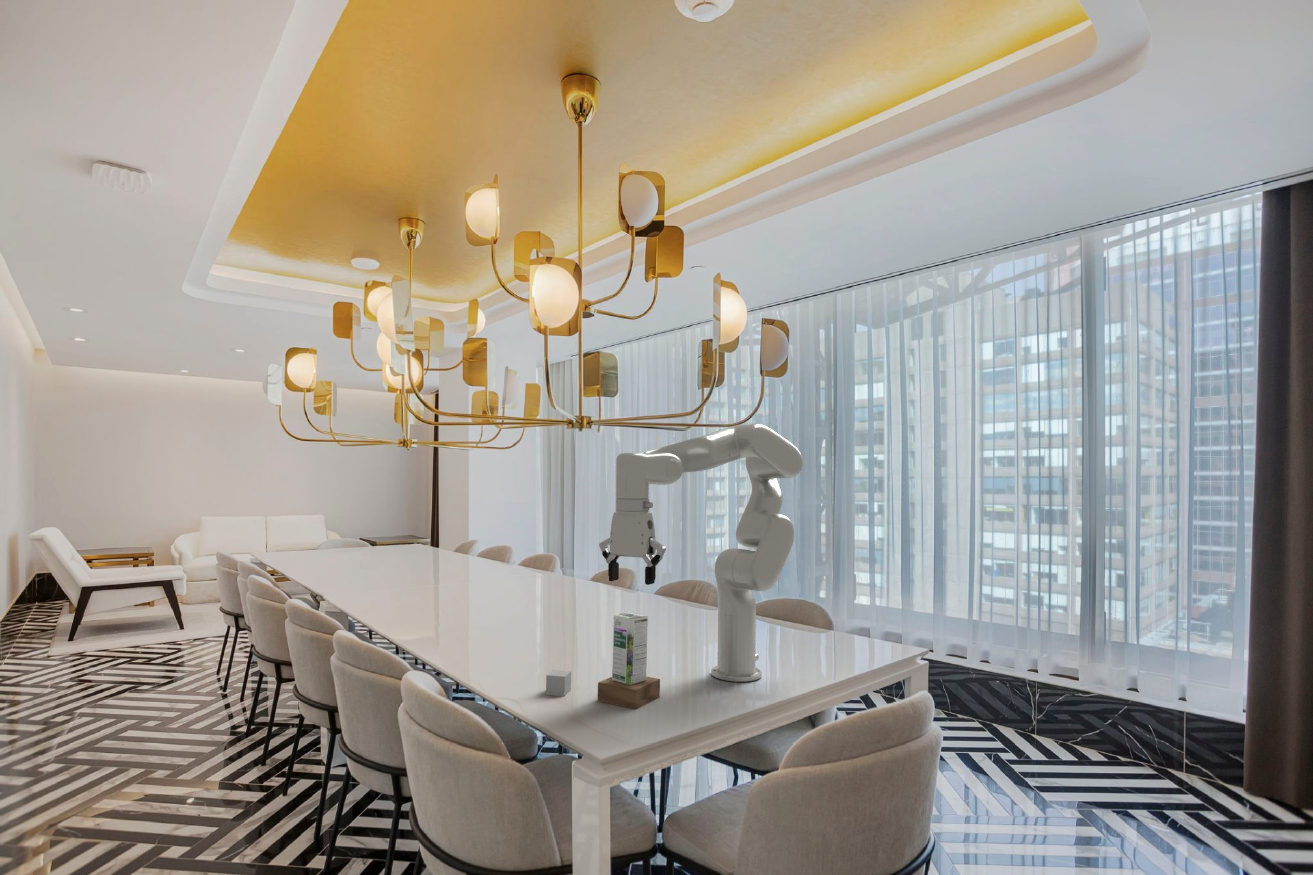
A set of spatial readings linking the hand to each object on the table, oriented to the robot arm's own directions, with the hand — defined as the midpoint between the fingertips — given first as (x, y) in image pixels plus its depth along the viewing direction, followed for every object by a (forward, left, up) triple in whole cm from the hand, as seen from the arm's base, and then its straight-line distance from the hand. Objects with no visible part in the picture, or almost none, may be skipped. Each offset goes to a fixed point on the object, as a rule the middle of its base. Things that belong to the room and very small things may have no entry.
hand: (631, 582), depth 157 cm
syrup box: (+1, +1, -22) cm, 22 cm away
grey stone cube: (+6, -15, -26) cm, 31 cm away
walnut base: (+1, +1, -26) cm, 26 cm away
